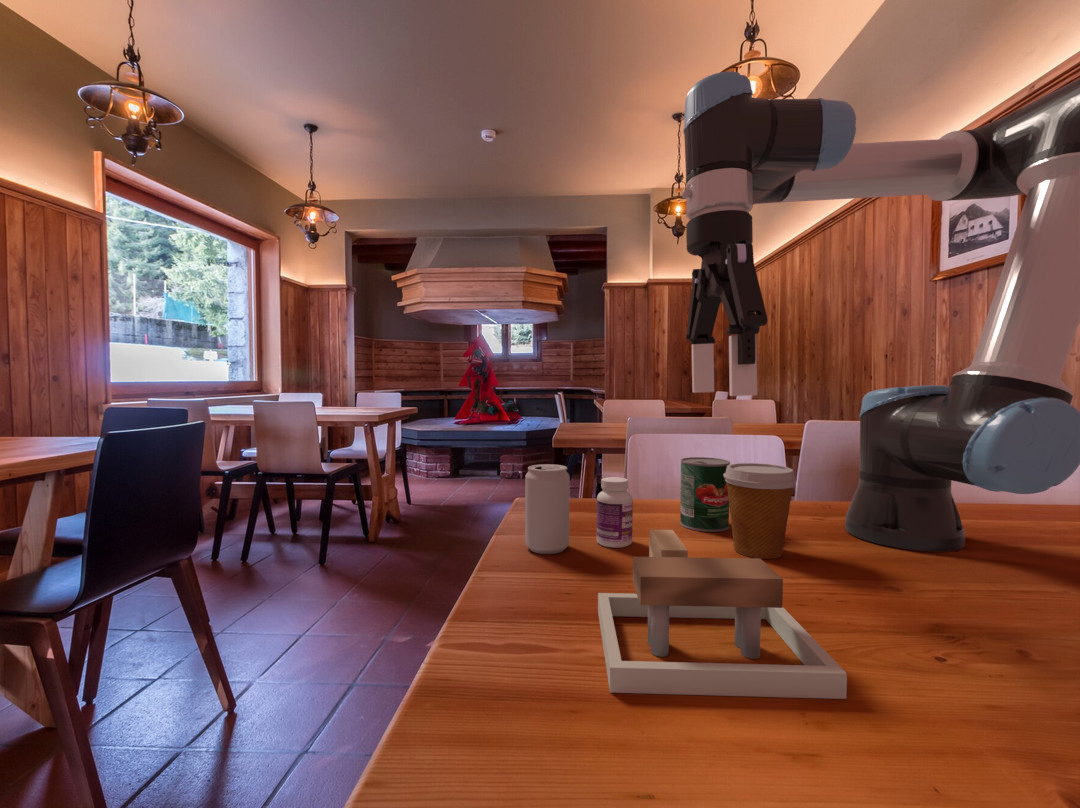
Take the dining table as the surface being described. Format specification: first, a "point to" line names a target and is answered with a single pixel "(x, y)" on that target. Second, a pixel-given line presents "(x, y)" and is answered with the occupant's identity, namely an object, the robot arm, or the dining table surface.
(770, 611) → the peg frame
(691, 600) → the board
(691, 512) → the canned tomato
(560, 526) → the beverage can
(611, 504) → the pill bottle
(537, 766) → the dining table surface
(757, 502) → the disposable coffee cup
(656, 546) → the stand block
